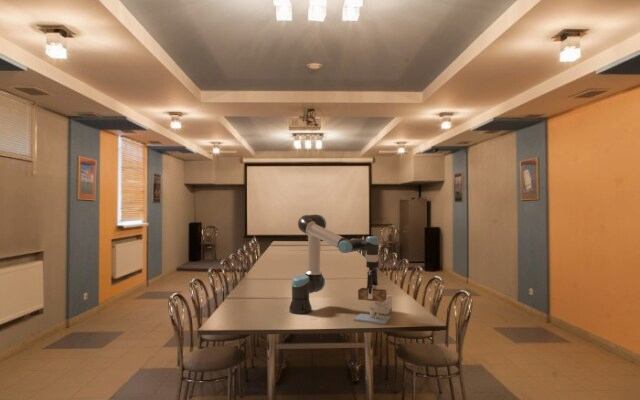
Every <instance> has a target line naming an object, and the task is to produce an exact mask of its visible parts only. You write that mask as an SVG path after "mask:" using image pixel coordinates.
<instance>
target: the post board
mask: <svg viewBox="0 0 640 400" xmlns="http://www.w3.org/2000/svg"><path fill="white" fill-rule="evenodd" d="M375 313H376V314H375ZM390 320H391V316H390V315H389V316H387V315H381V314H380V313H379V312H375V307H370V308H369V313H361V312H360V313H359V314H358V315H357V316H355V317H354V318H353V321H354V322H362V323H369V324H376V325H377V324H379V325H386V324H387V323H388V322H389V321H390Z"/></svg>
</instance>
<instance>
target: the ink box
mask: <svg viewBox="0 0 640 400" xmlns="http://www.w3.org/2000/svg"><path fill="white" fill-rule="evenodd" d="M388 293H389V291H386V300H385V301H384V302H379V301H374V308H375V313H376V312H379V314H380V315H388V314H390V313H392V311H393V295H392V294H388Z"/></svg>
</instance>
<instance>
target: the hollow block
mask: <svg viewBox="0 0 640 400" xmlns="http://www.w3.org/2000/svg"><path fill="white" fill-rule="evenodd" d="M386 292H387V289H383V288H381V289H380V288H377V289H373V299H368V288H367V287H361V288H359V289H358V291H357V300H360V301H370V302H371V301H372V302H375V301H379V302H384V301H385V300H386Z"/></svg>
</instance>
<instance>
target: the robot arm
mask: <svg viewBox="0 0 640 400" xmlns="http://www.w3.org/2000/svg"><path fill="white" fill-rule="evenodd" d="M297 226H298V230H300V231H301V233H304V234H306V236H307V237H308V239H307V240H308V241H307V242H308V243H307V245H308V246H307V270H306V272H305V274H301V275H300V274H298V275H296V276H294V277H292V279H291V301H290V304H289V309H288V310H289V311H288V312H289V313H291V314H295V315H305V314H310V313H312V311H313V309H312V308H313V307H312V305H311V301H310V294H313V293H317V292H320V291H322V290H323V289H324V287H325V284H326V280H325V277H324V275H323V273H322V271H321V240H322V241H323V242H326V243H327V244H328V245H330V246H331V245H332V246H333V247H335V248H337V249H338V251H339V252H340V253H342V254H348V253H352V252H359V251H362V252H366V255H365V257H366V261H365V262H366V264H365V265H366V266H365V267H366V268H368V271H367V279H366V280H367V281H366V282H367V283H366V288H368V299H373V289H378V288H377V286H378V285H379V282H378V268H379V258H380V256H379V244H380V243H379V237H378V236H370V235H369V236H366V238H365V239H364V238H357V237H356V238H351V239H347V238H345V237H343V236H341V235H339V234H337V233H335V232H332V231H331V230H329V229H327V220H326V218H325V217H324V216H323V215H320V214H305V215H302V216H301V217H300V218H299V219H298V221H297Z"/></svg>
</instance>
